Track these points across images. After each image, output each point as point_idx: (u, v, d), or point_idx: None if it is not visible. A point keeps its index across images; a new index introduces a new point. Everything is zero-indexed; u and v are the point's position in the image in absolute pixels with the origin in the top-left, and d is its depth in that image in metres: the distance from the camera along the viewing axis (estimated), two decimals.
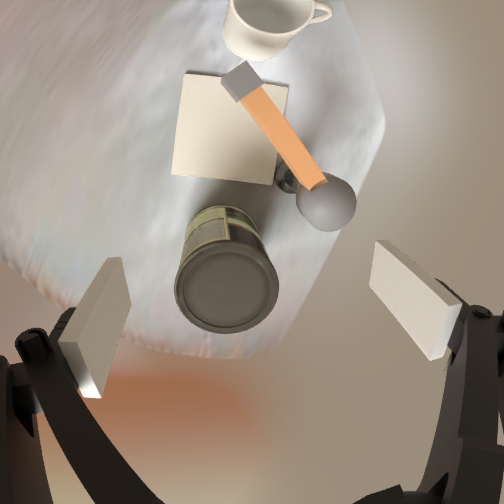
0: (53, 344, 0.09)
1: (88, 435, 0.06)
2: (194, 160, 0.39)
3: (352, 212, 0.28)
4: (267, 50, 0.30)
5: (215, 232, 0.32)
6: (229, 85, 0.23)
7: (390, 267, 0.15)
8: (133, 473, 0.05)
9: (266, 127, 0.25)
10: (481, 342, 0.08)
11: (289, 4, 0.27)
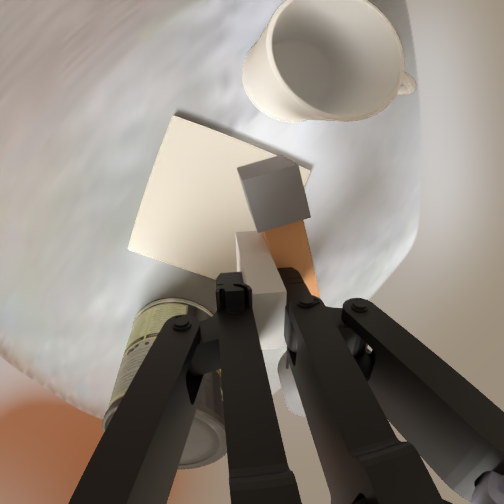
0: None
1: (254, 392, 0.07)
2: (160, 240, 0.29)
3: None
4: None
5: None
6: (250, 200, 0.13)
7: None
8: (279, 439, 0.06)
9: None
10: (321, 336, 0.09)
11: (354, 55, 0.19)
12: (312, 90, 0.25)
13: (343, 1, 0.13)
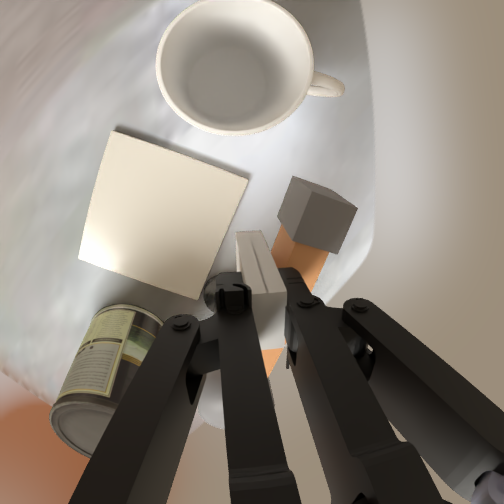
0: None
1: (254, 392, 0.07)
2: (106, 249, 0.29)
3: None
4: None
5: (100, 372, 0.23)
6: (305, 211, 0.14)
7: None
8: (279, 439, 0.06)
9: None
10: (322, 336, 0.09)
11: (279, 59, 0.19)
12: (248, 97, 0.25)
13: (247, 5, 0.13)
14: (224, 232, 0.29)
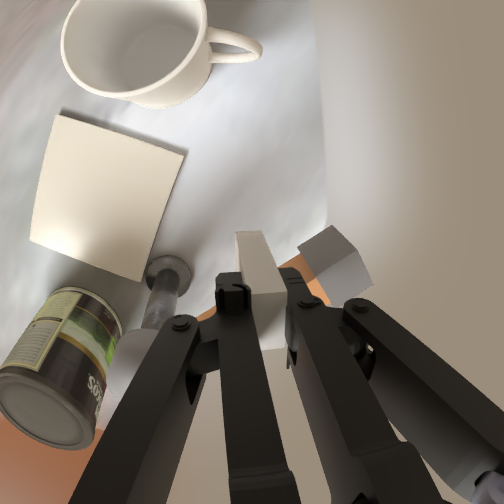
0: None
1: (254, 392, 0.07)
2: (53, 230, 0.27)
3: None
4: None
5: (34, 348, 0.21)
6: (341, 261, 0.15)
7: None
8: (279, 439, 0.06)
9: None
10: (322, 336, 0.09)
11: (198, 28, 0.17)
12: None
13: None
14: (162, 211, 0.28)
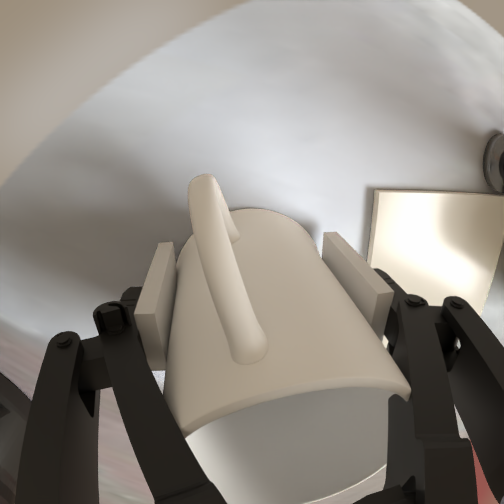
0: None
1: (152, 410, 0.07)
2: None
3: None
4: None
5: None
6: None
7: (334, 257, 0.16)
8: (190, 453, 0.06)
9: None
10: (420, 333, 0.09)
11: None
12: None
13: None
14: (446, 195, 0.17)
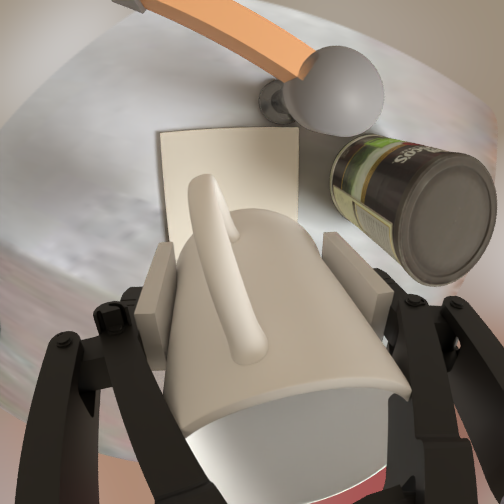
0: None
1: (153, 410, 0.07)
2: None
3: (380, 94, 0.15)
4: None
5: (377, 229, 0.23)
6: None
7: (334, 258, 0.16)
8: (190, 453, 0.06)
9: (185, 10, 0.12)
10: (420, 333, 0.09)
11: None
12: None
13: None
14: (216, 129, 0.28)
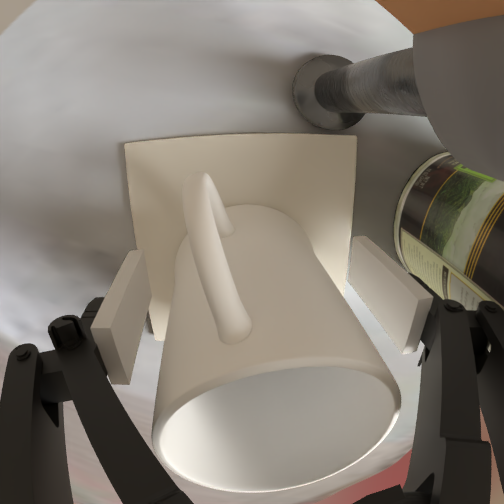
0: None
1: (115, 423, 0.06)
2: None
3: None
4: None
5: None
6: None
7: (366, 262, 0.15)
8: (157, 463, 0.05)
9: None
10: (455, 337, 0.09)
11: None
12: None
13: (176, 443, 0.10)
14: (220, 137, 0.16)
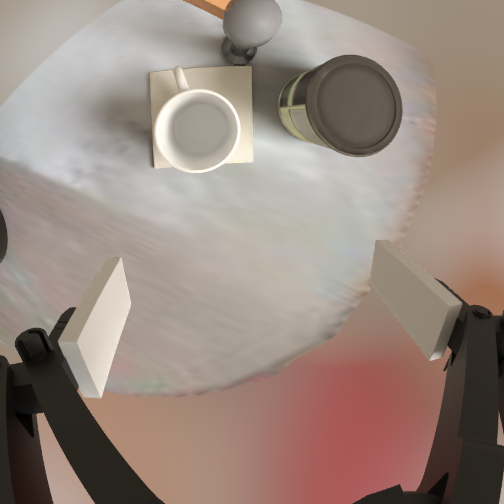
0: (53, 344, 0.09)
1: (88, 435, 0.06)
2: None
3: (279, 15, 0.22)
4: None
5: (300, 117, 0.30)
6: None
7: (390, 267, 0.15)
8: (133, 473, 0.05)
9: None
10: (481, 342, 0.08)
11: (176, 108, 0.32)
12: (204, 111, 0.37)
13: (161, 142, 0.28)
14: (190, 69, 0.35)
